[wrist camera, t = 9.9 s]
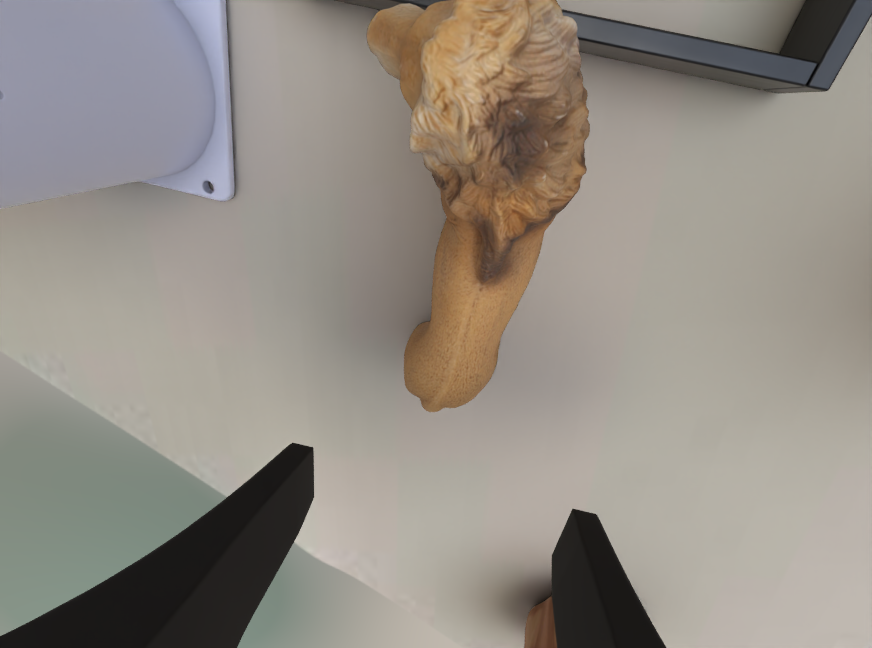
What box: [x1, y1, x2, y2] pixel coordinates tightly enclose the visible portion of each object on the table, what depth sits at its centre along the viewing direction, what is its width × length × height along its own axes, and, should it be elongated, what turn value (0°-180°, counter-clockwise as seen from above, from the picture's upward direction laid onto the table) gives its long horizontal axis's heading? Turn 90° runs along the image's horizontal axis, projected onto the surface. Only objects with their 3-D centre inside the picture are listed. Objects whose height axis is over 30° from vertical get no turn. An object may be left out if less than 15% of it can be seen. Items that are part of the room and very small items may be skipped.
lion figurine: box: [367, 0, 590, 412], centre depth 13 cm, size 15×5×9 cm, turn 177°
